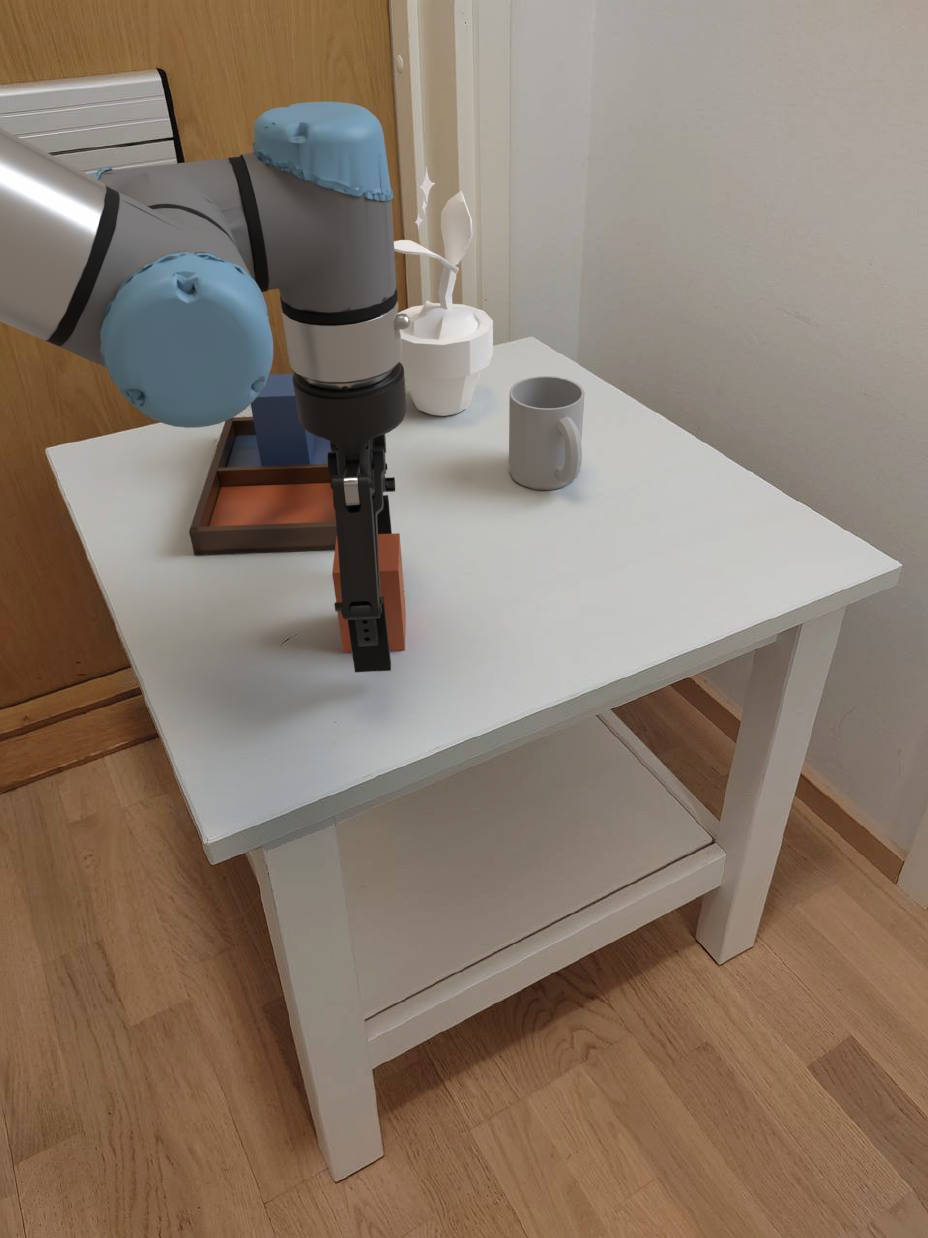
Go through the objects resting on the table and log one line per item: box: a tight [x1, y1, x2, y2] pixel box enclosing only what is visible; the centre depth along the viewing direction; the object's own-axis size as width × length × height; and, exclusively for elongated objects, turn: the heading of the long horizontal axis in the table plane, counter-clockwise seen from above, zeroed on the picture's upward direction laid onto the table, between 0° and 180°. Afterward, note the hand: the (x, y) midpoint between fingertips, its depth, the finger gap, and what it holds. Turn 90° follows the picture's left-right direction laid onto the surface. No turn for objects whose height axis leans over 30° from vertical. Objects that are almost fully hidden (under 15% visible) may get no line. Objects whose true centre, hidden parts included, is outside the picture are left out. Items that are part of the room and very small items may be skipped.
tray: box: [188, 416, 337, 556], centre depth 95 cm, size 14×22×3 cm, turn 2°
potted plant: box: [394, 165, 494, 417], centre depth 102 cm, size 13×12×25 cm
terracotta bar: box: [331, 533, 407, 654], centre depth 76 cm, size 5×5×8 cm
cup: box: [508, 375, 586, 491], centre depth 94 cm, size 7×10×9 cm
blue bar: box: [250, 373, 314, 466], centre depth 97 cm, size 5×5×8 cm
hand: (376, 612), depth 77 cm, fingers open, 13 cm apart
